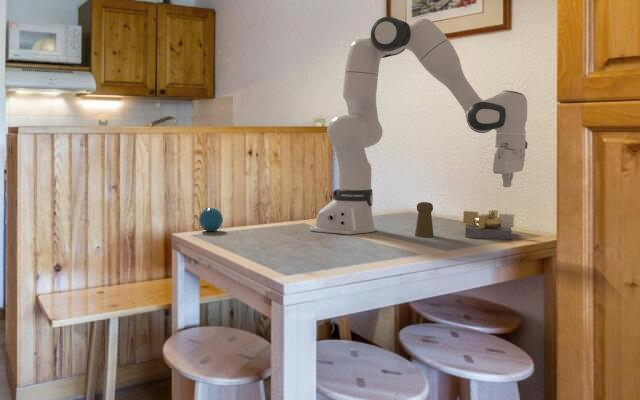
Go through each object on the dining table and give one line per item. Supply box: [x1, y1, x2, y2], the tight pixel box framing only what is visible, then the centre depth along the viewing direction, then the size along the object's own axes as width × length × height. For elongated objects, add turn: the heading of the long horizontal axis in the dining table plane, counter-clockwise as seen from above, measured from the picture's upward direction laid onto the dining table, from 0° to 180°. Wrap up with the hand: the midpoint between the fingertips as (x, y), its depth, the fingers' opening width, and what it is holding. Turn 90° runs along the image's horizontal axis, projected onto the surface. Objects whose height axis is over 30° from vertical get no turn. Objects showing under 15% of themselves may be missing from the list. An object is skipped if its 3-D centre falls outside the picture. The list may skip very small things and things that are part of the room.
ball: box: [198, 207, 224, 233], centre depth 194 cm, size 8×8×8 cm
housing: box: [464, 224, 513, 241], centre depth 189 cm, size 14×13×3 cm
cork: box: [414, 201, 434, 239], centre depth 187 cm, size 6×6×11 cm
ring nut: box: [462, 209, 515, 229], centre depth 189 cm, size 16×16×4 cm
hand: (507, 186), depth 183 cm, fingers closed
